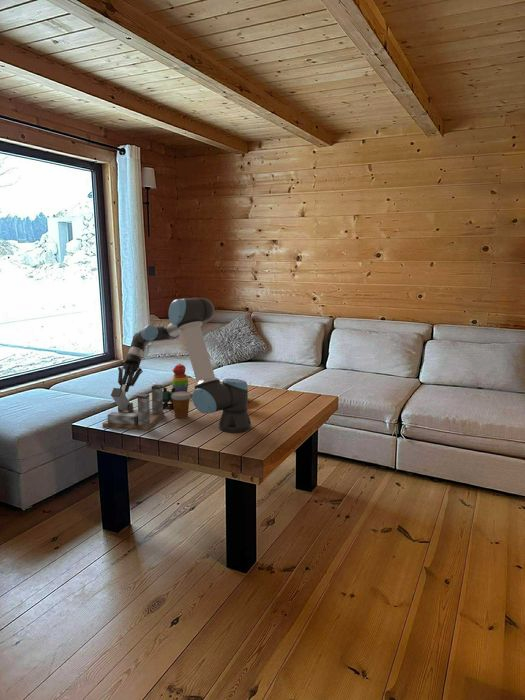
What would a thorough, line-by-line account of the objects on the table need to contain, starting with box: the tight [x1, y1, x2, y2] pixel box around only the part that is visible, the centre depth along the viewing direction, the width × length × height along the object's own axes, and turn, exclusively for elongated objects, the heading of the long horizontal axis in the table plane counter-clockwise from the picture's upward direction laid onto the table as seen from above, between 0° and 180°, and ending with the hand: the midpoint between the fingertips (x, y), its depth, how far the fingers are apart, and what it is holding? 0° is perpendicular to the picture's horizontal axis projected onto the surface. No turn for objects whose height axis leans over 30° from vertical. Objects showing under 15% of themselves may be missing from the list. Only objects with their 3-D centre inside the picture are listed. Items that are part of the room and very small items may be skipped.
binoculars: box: [162, 386, 176, 410], centre depth 256 cm, size 9×11×10 cm
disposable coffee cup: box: [171, 391, 192, 420], centre depth 242 cm, size 10×10×12 cm
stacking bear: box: [171, 363, 189, 392], centre depth 282 cm, size 11×10×18 cm
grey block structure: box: [101, 384, 165, 431], centre depth 233 cm, size 23×22×16 cm
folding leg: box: [110, 387, 131, 411], centre depth 238 cm, size 4×4×14 cm
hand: (121, 397), depth 241 cm, fingers closed
